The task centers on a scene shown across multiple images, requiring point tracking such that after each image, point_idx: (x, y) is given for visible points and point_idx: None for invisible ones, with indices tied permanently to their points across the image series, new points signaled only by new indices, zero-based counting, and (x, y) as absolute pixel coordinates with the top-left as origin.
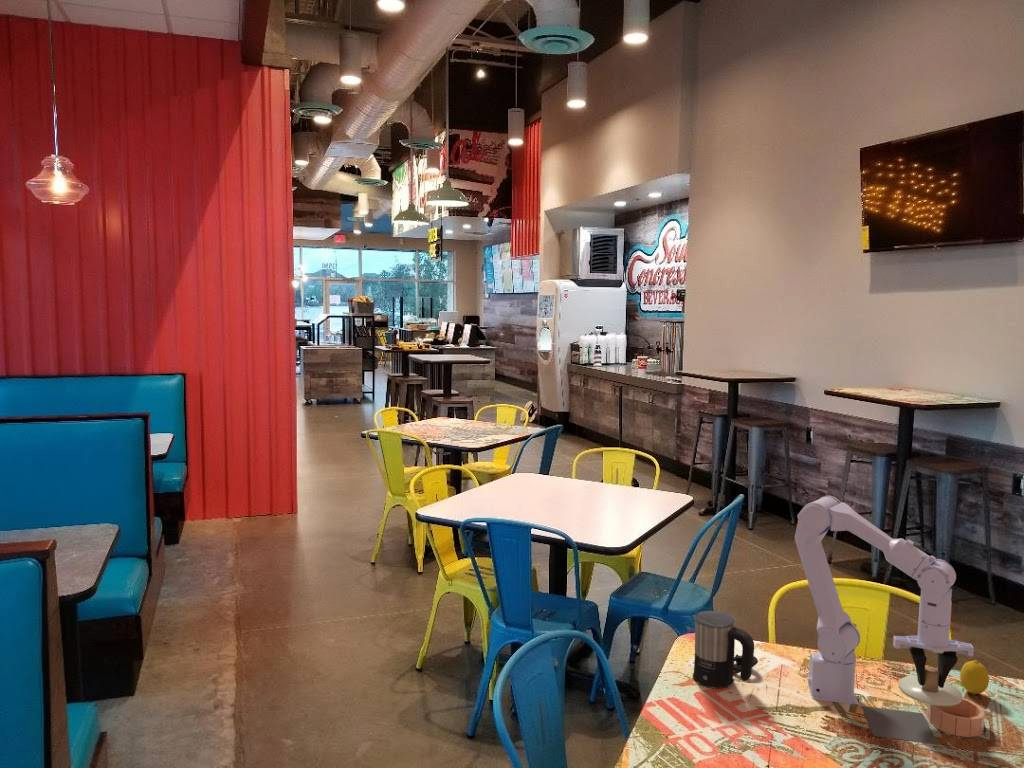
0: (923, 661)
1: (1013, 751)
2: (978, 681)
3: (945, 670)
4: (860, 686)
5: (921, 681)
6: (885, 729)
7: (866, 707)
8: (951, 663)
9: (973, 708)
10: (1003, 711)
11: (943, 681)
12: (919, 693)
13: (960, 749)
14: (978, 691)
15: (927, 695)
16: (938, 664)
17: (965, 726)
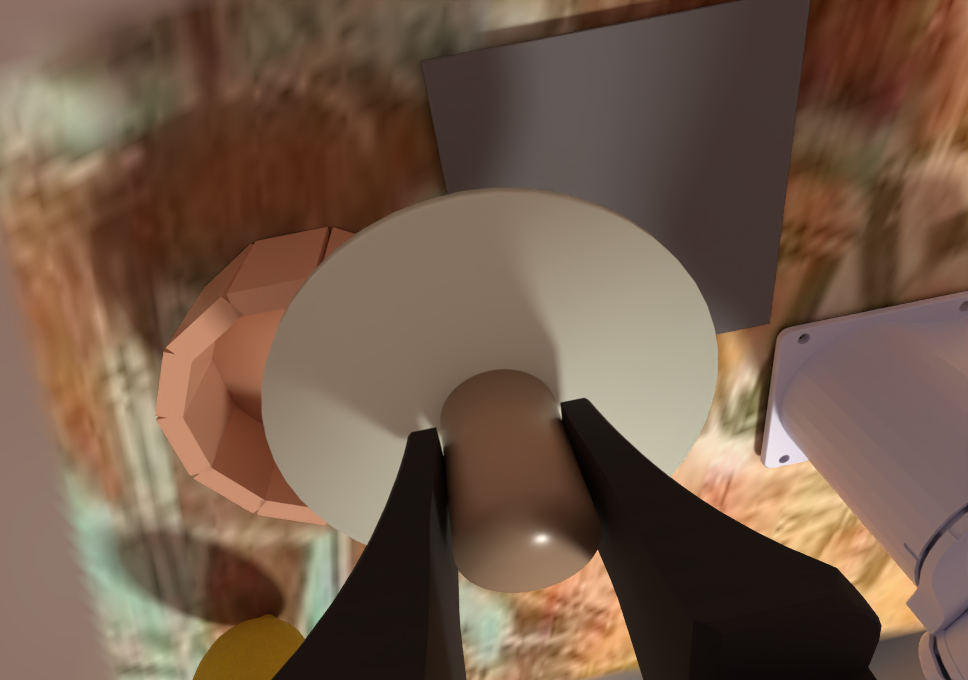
0: (697, 570)
1: (4, 203)
2: (228, 673)
3: (403, 558)
4: (713, 492)
5: (593, 415)
6: (712, 114)
7: (749, 319)
8: (333, 660)
9: (233, 461)
10: (136, 555)
11: (412, 466)
12: (591, 312)
13: (294, 81)
14: (239, 627)
15: (532, 306)
16: (460, 643)
17: (265, 265)
